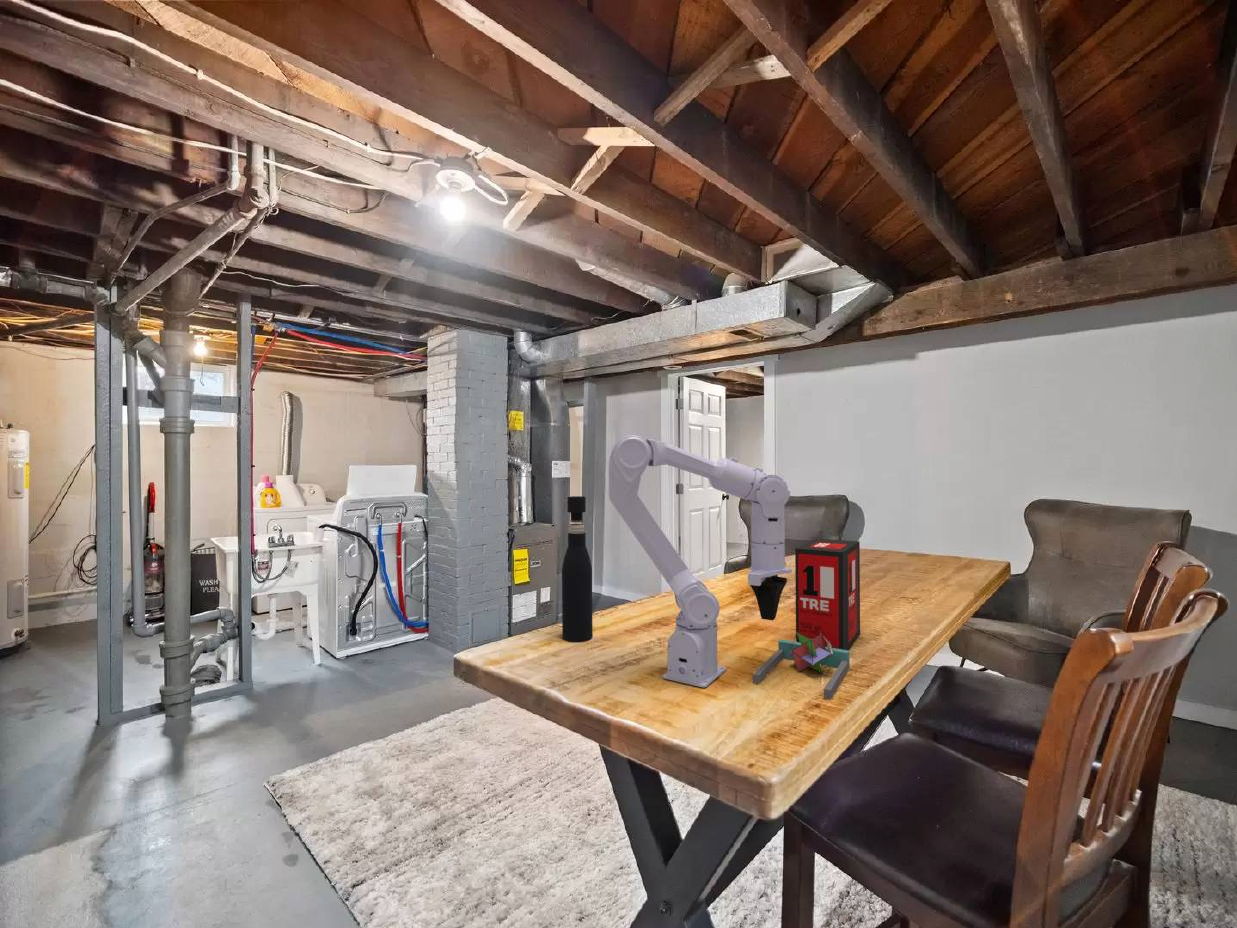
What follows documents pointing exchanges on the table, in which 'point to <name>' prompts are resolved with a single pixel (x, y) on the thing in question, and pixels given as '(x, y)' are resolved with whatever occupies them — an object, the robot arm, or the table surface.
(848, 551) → the cleaning product box
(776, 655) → the u-shaped frame
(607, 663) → the table surface
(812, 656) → the geometric puzzle
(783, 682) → the table surface
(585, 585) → the black water bottle
